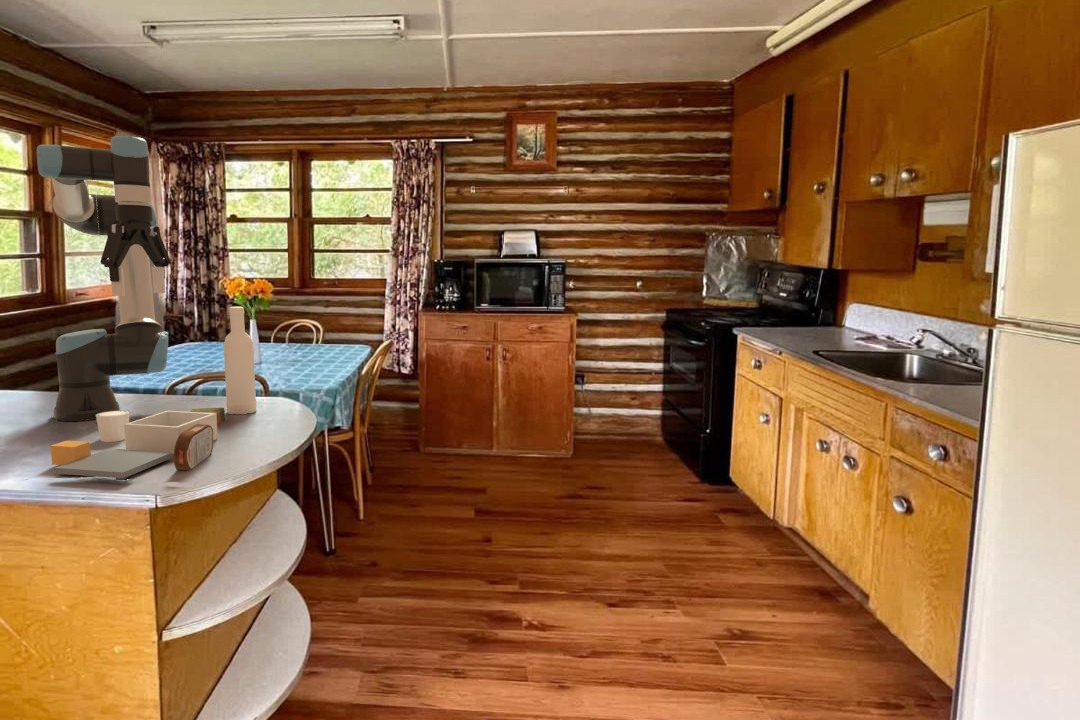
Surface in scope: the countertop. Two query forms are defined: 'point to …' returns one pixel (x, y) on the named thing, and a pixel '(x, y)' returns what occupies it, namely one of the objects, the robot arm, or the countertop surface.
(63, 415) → the robot arm
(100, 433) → the cream cylindrical piece
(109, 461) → the lid
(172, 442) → the tub
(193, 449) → the tin
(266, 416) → the countertop surface
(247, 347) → the bottle
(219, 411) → the carton
